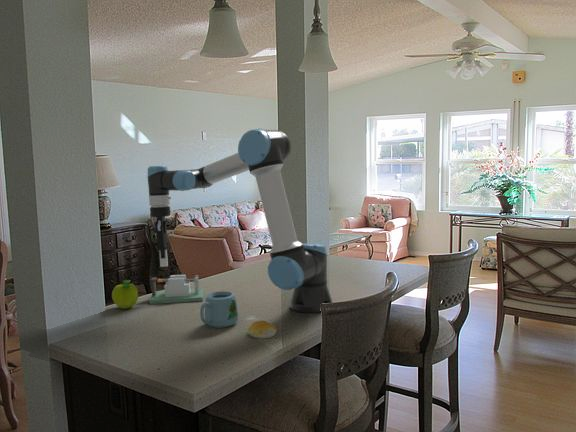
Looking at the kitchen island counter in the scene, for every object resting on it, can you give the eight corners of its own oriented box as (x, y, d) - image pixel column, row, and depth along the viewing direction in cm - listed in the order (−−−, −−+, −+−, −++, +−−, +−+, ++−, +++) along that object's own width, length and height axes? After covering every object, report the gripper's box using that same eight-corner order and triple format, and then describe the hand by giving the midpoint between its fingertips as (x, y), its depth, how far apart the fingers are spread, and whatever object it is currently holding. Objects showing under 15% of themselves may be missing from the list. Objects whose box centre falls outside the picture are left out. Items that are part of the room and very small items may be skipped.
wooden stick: (198, 281, 205) (198, 278, 205) (197, 282, 203) (197, 279, 203) (158, 281, 204) (158, 278, 204) (157, 282, 202) (157, 279, 202)
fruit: (140, 303, 198) (138, 277, 197) (137, 310, 189) (135, 283, 188) (115, 305, 197) (113, 279, 195) (111, 312, 187) (109, 285, 186)
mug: (214, 335, 160) (212, 304, 159) (189, 329, 166) (187, 299, 165) (245, 322, 172) (244, 292, 171) (220, 316, 178) (219, 288, 177)
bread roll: (266, 328, 166) (265, 315, 166) (280, 335, 159) (279, 323, 158) (243, 333, 162) (242, 320, 162) (256, 341, 154) (256, 328, 154)
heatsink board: (204, 292, 212) (203, 272, 211) (202, 301, 199) (201, 279, 198) (155, 294, 210) (153, 274, 209) (149, 303, 197) (148, 282, 196)
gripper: (167, 207, 193) (171, 269, 196) (171, 204, 206) (175, 262, 209) (147, 208, 193) (151, 270, 195) (152, 205, 206) (156, 263, 208)
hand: (164, 266), depth 202 cm, fingers closed
